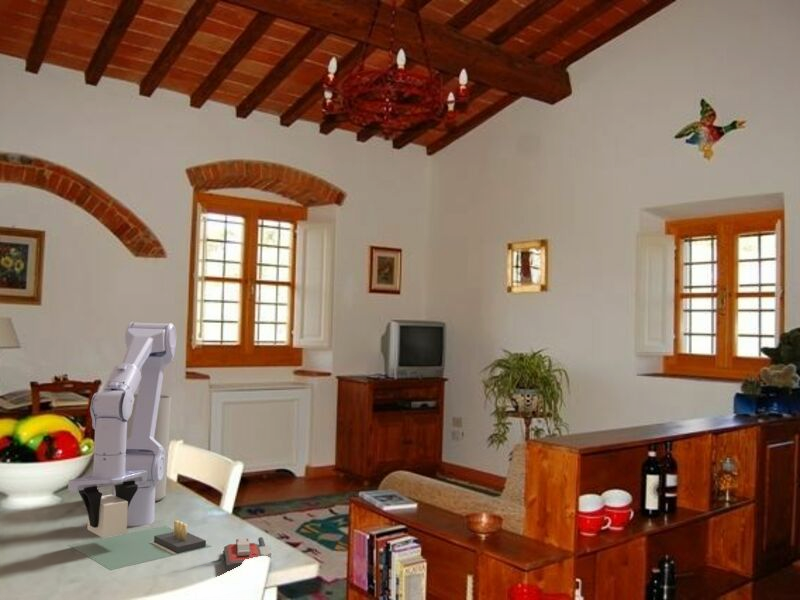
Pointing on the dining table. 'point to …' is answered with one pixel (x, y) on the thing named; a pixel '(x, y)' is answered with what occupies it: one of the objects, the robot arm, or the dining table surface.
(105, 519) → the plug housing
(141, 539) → the header board
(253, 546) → the walkie-talkie
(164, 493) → the cylinder vase
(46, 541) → the dining table surface
